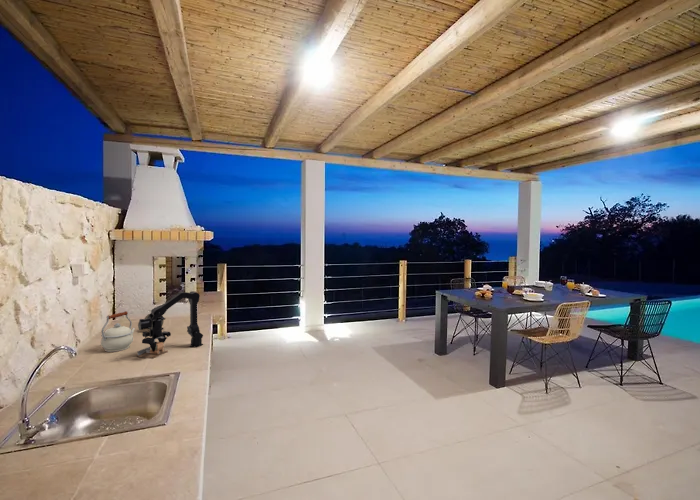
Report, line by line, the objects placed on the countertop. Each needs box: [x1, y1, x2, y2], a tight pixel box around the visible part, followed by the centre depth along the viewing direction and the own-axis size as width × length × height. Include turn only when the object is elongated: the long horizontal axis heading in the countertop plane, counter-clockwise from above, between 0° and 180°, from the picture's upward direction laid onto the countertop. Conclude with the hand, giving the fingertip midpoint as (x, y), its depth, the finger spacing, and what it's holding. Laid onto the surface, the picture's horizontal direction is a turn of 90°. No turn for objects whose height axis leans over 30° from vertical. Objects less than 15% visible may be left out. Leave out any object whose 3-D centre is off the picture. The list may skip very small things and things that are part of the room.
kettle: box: [100, 311, 136, 353], centre depth 223 cm, size 25×18×25 cm
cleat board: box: [136, 346, 168, 359], centre depth 213 cm, size 12×12×4 cm
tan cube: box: [149, 341, 165, 354], centre depth 212 cm, size 6×5×6 cm
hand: (156, 350), depth 212 cm, fingers closed on tan cube, 5 cm apart
